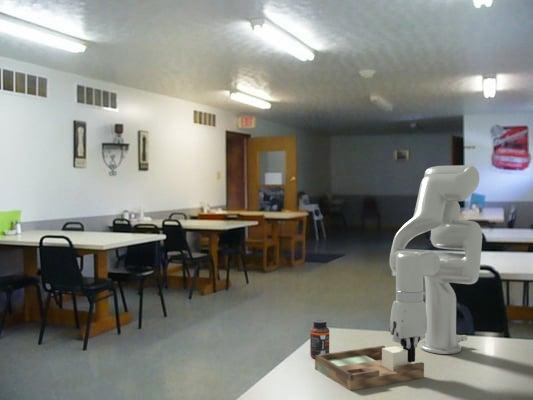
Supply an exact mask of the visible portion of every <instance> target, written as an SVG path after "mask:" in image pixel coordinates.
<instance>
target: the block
mask: <svg viewBox="0 0 533 400" xmlns="http://www.w3.org/2000/svg"><path fill="white" fill-rule="evenodd" d="M402 365H408V351H407V350H405V349H403V347H400V346H397V345H396V346H395V345H394V346H390V347H389V346H388V347H387V346H386V347H385V348H382V366H384V367H386V368H388V369H390V370H392V371H395V366H402Z"/></svg>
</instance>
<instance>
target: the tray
mask: <svg viewBox="0 0 533 400" xmlns="http://www.w3.org/2000/svg"><path fill="white" fill-rule="evenodd" d="M382 348H386V346H385V345H379V346H378V345H377V346H371V347H370V346H369V347H363V348H357V349H356V348H355V349H350V350H349V349H347V350H342V351H337V352H336V351H335V352H329V353H328V354H321V355H315V358H314V369H315V370H316V371H318V372H319V373H321V374H323V375H324V376H326V377H328V378H329V379H331V380H333V381H334V382H336V383H337V384H339V385H341V386H342V387H344V388H346V389H347V390H349V391H350V392H351V391H356V390H361V389H368V388H373V387H377V386H384V385H389V384H390V385H391V384H395V383H399V382H400V383H401V382H406V381H407V382H408V381H411V380H418V379H423V378H425V363H424V362H422V361H421V362H408V365H402V366H395V371H392V370H390V369H388V368H386V367H384V366H382Z"/></svg>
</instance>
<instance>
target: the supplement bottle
mask: <svg viewBox="0 0 533 400" xmlns="http://www.w3.org/2000/svg"><path fill="white" fill-rule="evenodd" d="M312 324H313V326H312V327H311V328H310V333H309V335H310V337H309V339H310V346H309V347H310V351H309V353H310V354H309V355H310V357H311V358H313V359H315V355H321V354H328V353H330V328H329V327H328V326H327V320H325V319H315V320H313V323H312Z"/></svg>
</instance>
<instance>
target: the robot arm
mask: <svg viewBox="0 0 533 400" xmlns="http://www.w3.org/2000/svg"><path fill="white" fill-rule="evenodd" d="M479 183H480V173H479V171H478V169H477V168H476V167H475V166H473V165H463V164H461V165H436V166H431V167H428V168H427V169H426V170H425V171H424V175H423V178H422V180H421V182H420V185H419V190H418V195H417V199H416V204H415V208H414V213H413V216H412V217H411V219H409V220H408V221H407V222H405V223H404V224H403V225H402V227H400V229H399V230H398V231H397V232H396V233H395V235H394V237H393V241H392V245H391V249H390V253H389V267H390V270H391V271H392V272H393V273H395V300H393V303H392V304H391V305H392V306H391V311H390V320H389V321H390V322H389V334H390V335H391V336H392V341H393V342H395V343H398V344H400V345H401V347H402V349H405V350H407V351H408V362H410V363H416V348H417V347H418V344H419V343H420V348H421V350H423V351H426V352H428V353H431V354H432V353H433V354H439V355H451V354H453V355H454V354H458V353H460V352H461V350H462V347H461V345H460V344H459V343H460V342H466V341H467V340H468V336H467V335H466V334H462V335H459V334H457V296H456V295H457V294H456V293H455V290H454V288H453V287H452V286H451V283H453V284H463V285H473V284H475V283H477V282H478V280H479V277H480V272H481V271H480V270H481V259H482V245H483V244H482V243H483V233H482V231H483V230H482V228H481V226H480V224H479V223H478V222H476V221H473V220H461V219H460V215H461V214H460V213H461V206H460V204H459V202H464V201H466V200H467V199H469V198H470V197H471V196H472V194H473V193H474V192H475V191H476V190H477V188H478V187H479ZM427 232H430V242H431V244H432V246H433V247H435V248H438V249H445V250H456V251H457V250H459V251H464V253H455V252H447V251H442V252H441V251H432V250H425V249H412V248H406V247H407V245H408V243H409V242H410V241H411V240H412V239H414V238H415V237H417V236H419V235H421V234H424V233H427ZM424 284H425V286H424ZM424 287H425V288H424ZM424 289H425V291H424ZM424 297H425V300H424ZM424 339H425V340H424ZM421 340H424V341H422V342H420V341H421Z"/></svg>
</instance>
